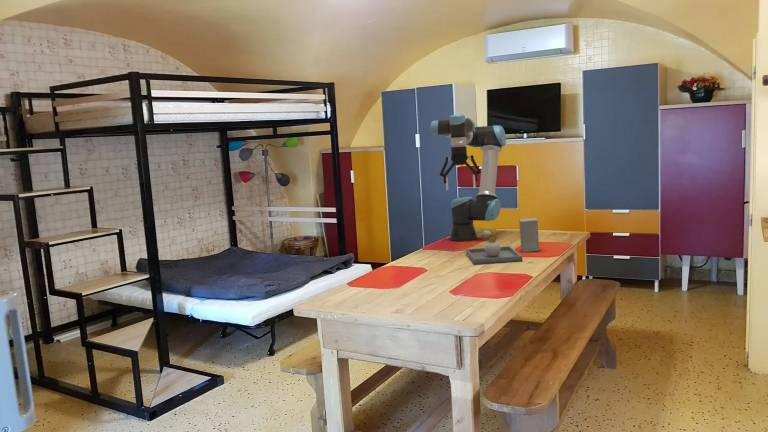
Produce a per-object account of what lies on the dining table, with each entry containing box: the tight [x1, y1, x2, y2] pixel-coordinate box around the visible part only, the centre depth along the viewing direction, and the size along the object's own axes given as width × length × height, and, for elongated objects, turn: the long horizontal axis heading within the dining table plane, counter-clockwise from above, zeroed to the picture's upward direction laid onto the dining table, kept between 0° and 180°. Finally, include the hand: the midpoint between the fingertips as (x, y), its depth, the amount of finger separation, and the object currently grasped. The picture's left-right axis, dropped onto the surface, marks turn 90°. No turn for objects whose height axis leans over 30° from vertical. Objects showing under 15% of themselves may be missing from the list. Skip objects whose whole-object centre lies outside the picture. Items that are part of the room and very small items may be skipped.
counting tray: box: [465, 245, 523, 266], centre depth 291 cm, size 24×22×2 cm
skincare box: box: [518, 217, 540, 253], centre depth 300 cm, size 8×7×16 cm
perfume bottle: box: [481, 229, 501, 257], centre depth 290 cm, size 8×10×12 cm
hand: (460, 189), depth 305 cm, fingers open, 13 cm apart
